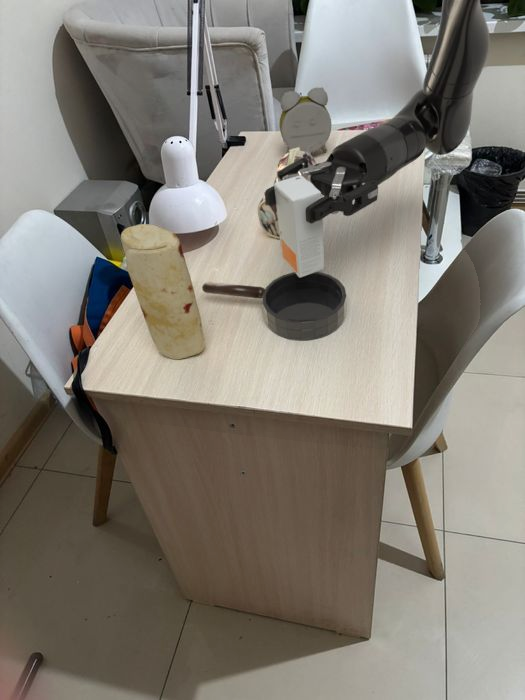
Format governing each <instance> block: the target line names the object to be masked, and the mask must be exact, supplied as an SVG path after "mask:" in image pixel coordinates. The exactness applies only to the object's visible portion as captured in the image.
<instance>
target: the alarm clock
mask: <svg viewBox="0 0 525 700" xmlns="http://www.w3.org/2000/svg"><path fill="white" fill-rule="evenodd" d="M328 101H329V97H328V93H327V91H326V90H325V89H324V87H323V86H322V87H313V88H311V89H310V90H309V91H308V92H307V94H306V95H303V93H302V92H299V93H298V92H297V91H295V90H289V91H287V92H284V93H283V95H282V97H281V98H280V108H281V110H282V112H281V114H280V117H279V131H280V136H281V138H282V141H283V143H284V144H285V145H286V146H287V149H286V151H285V154H287V153H289V152H290V151H289V150H291V149H294V148H297V147H300V151H304V152H307V153H309V154H310V155H311V156H312V153H315V152H317V151H318V150H320V149H321V150H322V152H324V153H327V151H328V150H327V147H326V145H325V144H326V143H327V142H328V140H329V138H330V136H331V133H332V125H333V124H332V119H331V115H330V113H329V111H328V109H327V107H326V106H327V105H328Z"/></svg>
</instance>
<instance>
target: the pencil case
mask: <svg viewBox="0 0 525 700" xmlns="http://www.w3.org/2000/svg"><path fill="white" fill-rule="evenodd" d="M289 151H290V152H289V153H287V154H286V153H284V155H282V156H281V157H280V159H279V160H278V163H277V167H276V173H277V172H278V171H280V170H282V169H283V168H285V167H287V166H288V165H290V164H292V163H294V162H295V161H297V160H299V159H301V158H308V164H310V165H313V166H314V165H316V164H318V162H317V161H316V159H315V158H314V157H313V155H312V154H311V155H310V154H309V153H307V152H304V151H300V147H297V148H294V149H291V150H289ZM286 176H287V175H286ZM310 176H311V175H308V176H307V178H306V180H308V181H309V182H310ZM277 182H278V178H277V175H276V176H275V178H274V181H273V184H274V183H277ZM263 195H264V196H263V197H262V198H261V200H260V202H258V205H257V217H258V221H259V224H260V226H261V229H262V230H263V232H265V234H266V235H268V236H269V237H271V238H274V239H278V240H280V233H279V225H278V215H277V206H276V204H275V205H273V206H268V205H266V201H265V191H263Z"/></svg>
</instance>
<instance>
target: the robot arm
mask: <svg viewBox="0 0 525 700" xmlns="http://www.w3.org/2000/svg"><path fill="white" fill-rule="evenodd" d="M437 31H438V32H437V36H436V40H435V43H434V47H433V50H432V53H431V56H430V60H429V63H428V65H427V69H426V73H425V75H424V79H423V84H422V88H421V89H419V90H417V91H416V92H415V93H414V94H413V95H412V96H411V97H409V99H408V101H407V102H406V103H405V105H404V106H403V107H402V108H401V109H400V111H398V112H397V114H395V115H394V116H393V117H391V118H390V119H389V120H387V121H385V122H383V123H381V124H379V125H377V126H374V127H372V128H369V129H366V130H364V131H363V132H361V133H359V134H357V135H355V136H353V137H352V138H349V139H348V140H346V141H344V142H342V143H340V144H339V145H337V146H336V147H334V148H333V149H332V151H331V152H330V154H329V155H328V158H327V159H326V160H325V161H322V162H319V163H318V162H317V164H316V165H314V166H313V165H310V164H308V158H301V159H299V160H297V161H295V162H294V163H292V164H290V165H288V166H287V167H285V168H283V169H282V170H280V171H278V172H277V171H276V176H277V178H278V182H280V181H283V180H286V179H289V178H293V177H296V176H299V175H302V176H303V177H304V178H305V179H306V178H307V176H308V175H311V176H310V182H311V183H312V184H313V185H314V186H315V187H316V188H317V189H318V190H319V191H320V192H321V199H319V200H317V201H316V202H314V203H312V204H311V205H309V206H307V208H306V211H305V212H306V221H307V222H308V223H311V224H312V223H314V222H316V221H319V220H321V219H322V220H323V219H325V218H326V217H328V216H330V214H331V215H336V214H338V213H340V212H341V213H342V214H343V216H345V217H350V216H353V215H355V214H356V213H358V212H360V211H361V210H363V209H365V208H367V207H368V206H370V205H371V204H373V203H375V202H377V201H378V197H379V196H378V194H379V185H381V184H383V183H384V182H386V181H387V180H389V179H390V178H393V176H394V175H395V174H397V172H399V171H400V170H402V169H403V168H404V167H407V166H408V165H410V164H411V163H413V162H414V161H416V160H417V159H419V158H420V157H421V156H422V154H423V153H424V152H425V150H426V149H427V150H428V151H429V152H430V153H432V154H434V155H438V156H443V155H448V154H450V153H452V152H453V151H455V150H456V149H457V148H458V147H459V146H460V145H461V144H462V143H463V141H464V139H465V138H466V136H467V134H468V131H469V128H470V126H471V120H472V111H473V100H474V99H473V98H474V90H475V87H476V85H477V83H478V81H479V79H480V76H481V74H482V72H483V70H484V68H485V64H486V63H487V59H488V57H489V52H490V45H491V38H490V37H491V36H490V31H489V27H488V23H487V21H486V18H485V15H484V12H483V9H482V6H481V0H442V6H441V14H440V22H439V25H438V30H437ZM286 175H287V176H286ZM264 192H265V195H264V196H265V201H266V205H268V206H273V205H275V204H276V197H275V188H274V185H272V186H271V187H269V188H267V189H266V190H264ZM322 196H323V197H322ZM353 201H354V202H353Z"/></svg>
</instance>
